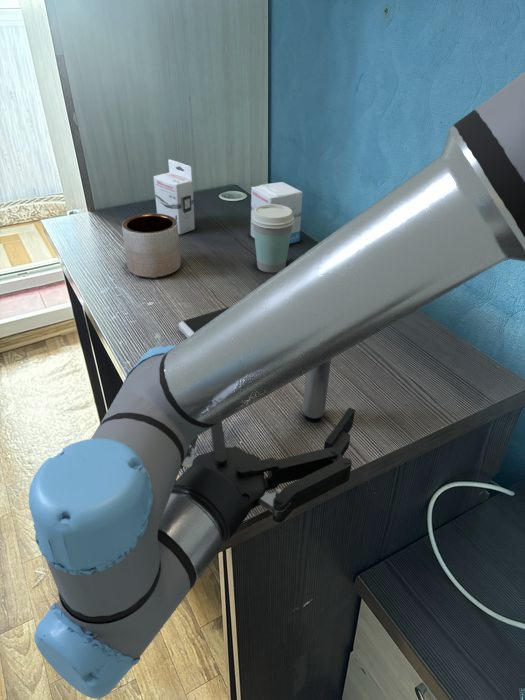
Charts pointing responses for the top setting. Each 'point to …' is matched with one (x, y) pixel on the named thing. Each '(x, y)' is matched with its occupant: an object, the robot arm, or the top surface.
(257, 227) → the coffee cup
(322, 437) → the top surface
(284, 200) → the ink box
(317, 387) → the grey metal rod
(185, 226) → the ink box
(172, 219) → the planter
